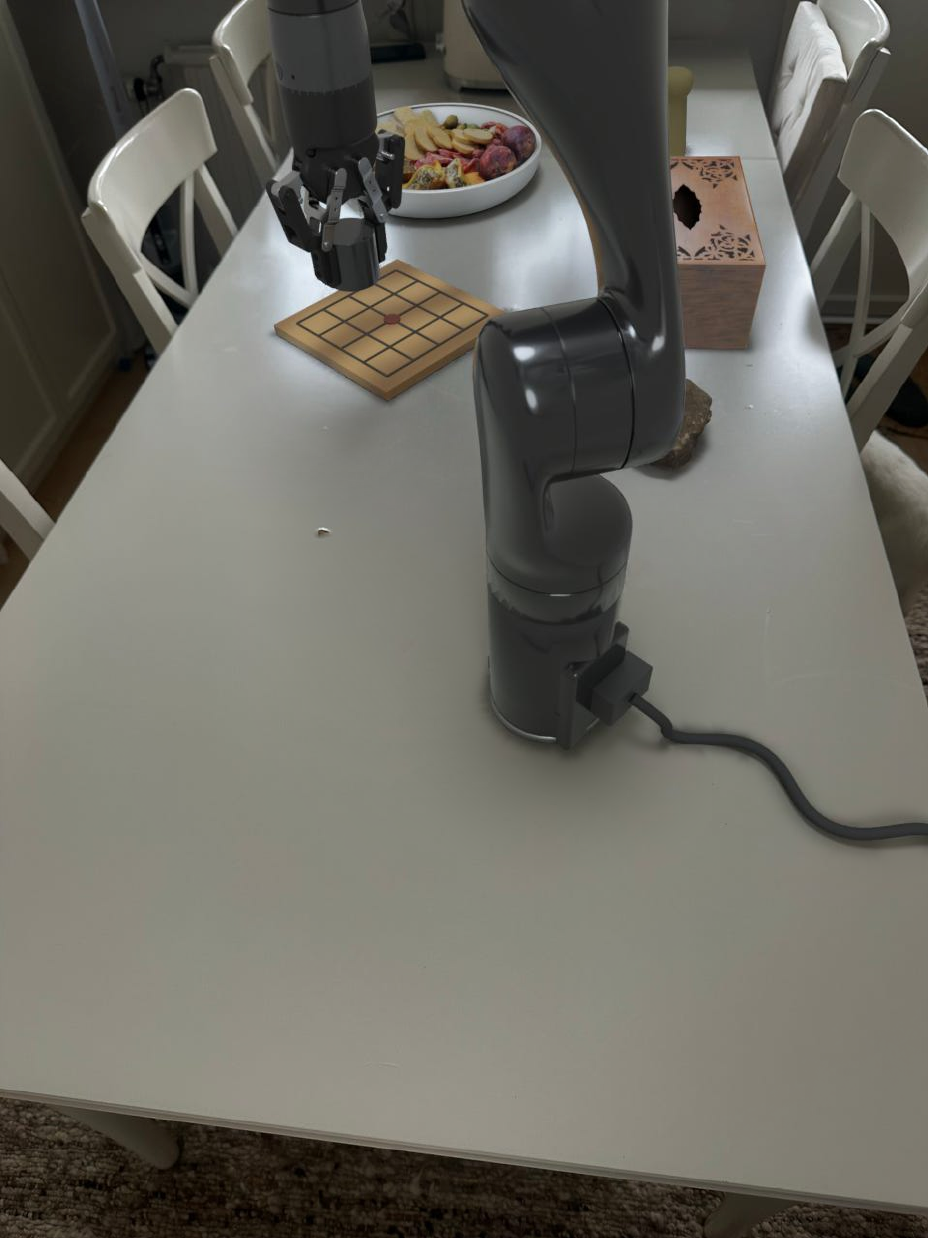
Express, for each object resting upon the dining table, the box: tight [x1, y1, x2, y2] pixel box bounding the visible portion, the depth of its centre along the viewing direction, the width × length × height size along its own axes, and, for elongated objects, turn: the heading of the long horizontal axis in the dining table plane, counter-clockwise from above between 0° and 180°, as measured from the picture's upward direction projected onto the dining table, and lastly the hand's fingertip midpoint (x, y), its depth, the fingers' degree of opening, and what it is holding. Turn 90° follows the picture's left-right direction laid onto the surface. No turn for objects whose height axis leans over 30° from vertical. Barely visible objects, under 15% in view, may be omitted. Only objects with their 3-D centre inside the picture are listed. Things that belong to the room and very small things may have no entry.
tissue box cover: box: [670, 155, 767, 350], centre depth 102 cm, size 26×14×10 cm, turn 175°
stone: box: [648, 378, 713, 470], centre depth 86 cm, size 10×14×6 cm
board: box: [273, 258, 508, 402], centre depth 102 cm, size 20×20×1 cm
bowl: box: [372, 102, 542, 219], centre depth 124 cm, size 30×30×8 cm
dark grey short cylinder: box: [332, 217, 381, 292], centre depth 79 cm, size 5×5×4 cm
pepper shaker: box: [668, 65, 694, 156], centre depth 125 cm, size 6×6×11 cm
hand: (353, 270), depth 81 cm, fingers closed on dark grey short cylinder, 5 cm apart
